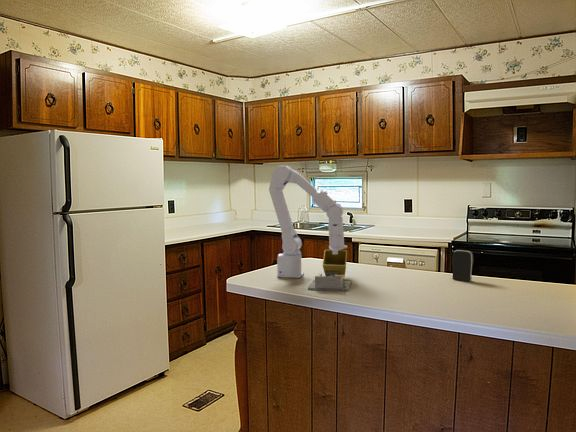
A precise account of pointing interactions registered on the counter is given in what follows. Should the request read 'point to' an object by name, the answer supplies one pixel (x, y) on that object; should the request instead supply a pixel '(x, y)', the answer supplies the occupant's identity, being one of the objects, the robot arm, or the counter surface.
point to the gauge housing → (329, 283)
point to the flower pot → (335, 261)
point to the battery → (462, 265)
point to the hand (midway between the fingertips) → (337, 269)
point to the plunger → (333, 274)
